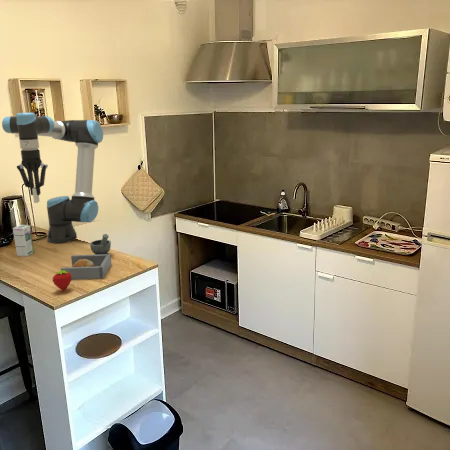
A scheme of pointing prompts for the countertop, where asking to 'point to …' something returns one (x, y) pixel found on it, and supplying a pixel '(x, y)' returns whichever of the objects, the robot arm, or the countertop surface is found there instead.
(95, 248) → the mortar and pestle
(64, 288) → the strawberry
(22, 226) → the syrup box
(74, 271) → the box
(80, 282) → the countertop surface
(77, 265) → the bread roll
